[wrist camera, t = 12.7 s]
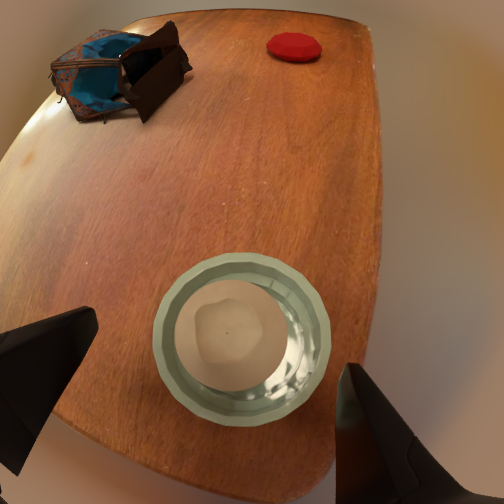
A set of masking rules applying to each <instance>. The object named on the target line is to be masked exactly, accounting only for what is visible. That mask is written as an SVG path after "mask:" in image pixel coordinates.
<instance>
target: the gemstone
mask: <svg viewBox="0 0 504 504" xmlns="http://www.w3.org/2000/svg"><path fill="white" fill-rule="evenodd" d="M266 46H267V49H268V50H269V51H270V52H271V53H272V54H273V55H274V56H276V57H278V58H281V59H283V60H286V61H296V62H305V61H308V60H310V59H313V58H315V57H317V56H318V55H319V54H320V53H321V51H322V47H321V45H320V44H319V43H318V42H317V41H316V40H315V39H314V38H313V37H310V36H308V35H305V34H302V33H286V32H285V33H282V34H279V35H276V36H274V37H273V38H272V39H271V40H270V41H269V42H268V43H267V44H266Z"/></svg>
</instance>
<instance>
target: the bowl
mask: <svg viewBox="0 0 504 504" xmlns="http://www.w3.org/2000/svg"><path fill="white" fill-rule="evenodd" d="M223 280H241V281H245V282H249V283H252V284H254V285H256V286H258V287H260V288H262V289H263V290H265V291H266V292H267V293H269V294H270V295H271V296H272V297H273V298H274V299H275V301H276V302H277V303H278V305H279V306H280V308H281V310H282V312H283V314H284V316H285V319H286V323H287V328H288V344H287V348H286V352H285V355H284V357H283V360H282V361H281V363H280V365H279V366H278V368H277V369H276V371H275V372H274V373H273V374H272V375H271V376H270V377H269V378H267V379H266V380H265V381H264V382H262V383H260V384H258V385H257V386H254V387H252V388H249V389H246V390H241V391H222V390H217V389H213V388H211V387H208V386H206V385H204V384H202V383H201V382H199V381H198V380H196V379H195V378H194V377H193V376H192V375H191V374H190V373H189V372H188V371H187V370H186V369H185V367H184V366H183V364H182V362H181V361H180V359H179V356H178V354H177V350H176V346H175V338H174V337H175V325H176V321H177V318H178V315H179V313H180V311H181V309H182V307H183V305H184V304H185V303H186V301H187V300H188V299H189V298H190V297H191V296H192V295H193V294H194V293H195V292H197V291H198V290H199V289H201V288H203V287H204V286H206V285H209V284H211V283H214V282H217V281H223ZM152 348H153V353H154V357H155V360H156V364H157V368H158V371H159V374H160V377H161V378H162V380H163V381H164V383H165V385H166V386H167V388H168V389H169V391H170V392H171V394H172V395H173V397H174V398H175V399H176V400H177V401H179V402H180V403H181V404H182V405H184V406H185V407H186V408H187V409H189V410H190V411H191V412H193V413H194V414H195V415H196V416H199V417H201V418H204V419H206V420H209V421H212V422H215V423H218V424H220V425H223V426H237V427H254V426H259V425H262V424H266V423H269V422H272V421H275V420H279V419H282V418H283V417H285V416H287V415H288V414H289V413H291V412H292V411H294V410H295V409H296V408H298V407H299V406H300V405H302V404H303V403H304V402H306V400H308V399H309V397H310V396H311V394H312V393H313V392H314V390H315V389H316V387H317V386H318V384H319V383H320V382H321V380H322V379H323V376H324V374H325V371H326V367H327V364H328V360H329V357H330V353H331V328H330V319H329V317H328V314H327V312H326V309H325V307H324V304H323V302H322V299H321V297H320V295H319V294H318V292H317V291H316V290H315V289H314V288H313V286H312V285H311V284H310V283H309V282H308V280H307V279H306V278H305V277H304V276H303V275H302V274H301V273H300V272H298V271H296V270H295V269H293V268H292V267H290V266H289V265H287V264H285V263H284V262H282V261H281V260H279V259H276V258H272V257H268V256H265V255H261V254H257V253H252V252H250V253H227V254H222V255H219V256H216V257H213V258H210V259H207V260H204V261H202V262H200V263H198V264H197V265H195V266H194V267H192V268H191V269H190V270H188V271H187V272H185V273H184V274H182V275H181V276H180V277H179V278H178V279H177V280H176V282H175V283H174V284H173V285H172V287H171V288H170V289H169V291H168V292H167V293H166V294H165V296H164V298H163V299H162V302H161V304H160V307H159V310H158V312H157V315H156V318H155V320H154V326H153V346H152Z"/></svg>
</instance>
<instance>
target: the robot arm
mask: <svg viewBox="0 0 504 504" xmlns="http://www.w3.org/2000/svg"><path fill="white" fill-rule="evenodd" d="M98 329H99V325H98V321H97V317H96V313H95V310H94V309H93V308H91V307H88V306H82V307H79V308H76V309H73V310H70V311H67V312H64V313H61V314H58V315H55V316H52V317H49V318H46V319H43V320H40V321H37V322H34V323H31V324H28V325H25V326H22V327H19V328H16V329H13V330H11V331H7V332H4V333H1V334H0V463H2V464H3V465H4V466H5V467H6V468H7V469H9V470H10V471H11V472H12V473H13V474H15V475H16V476H18V475H19V473H20V471H21V469H22V467H23V465H24V463H25V461H26V459H27V457H28V455H29V453H30V451H31V449H32V447H33V445H34V443H35V441H36V439H37V437H38V435H39V433H40V431H41V430H42V428H43V426H44V424H45V422H46V421H47V419H48V417H49V415H50V413H51V412H52V410H53V408H54V406H55V405H56V403H57V401H58V400H59V398H60V396H61V395H62V393H63V391H64V390H65V388H66V386H67V385H68V383H69V382H70V380H71V378H72V377H73V375H74V374H75V372H76V370H77V369H78V367H79V366H80V364H81V362H82V361H83V359H84V357H85V355H86V353H87V351H88V349H89V347H90V345H91V343H92V342H93V340H94V338H95V336H96V334H97V332H98ZM335 445H336V504H504V498H497V497H491V496H484V495H479V494H475V493H472V492H470V491H468V490H466V489H465V488H463V487H462V486H461V485H460V484H459V483H458V482H457V481H456V480H455V479H454V478H453V477H452V476H451V475H450V474H449V473H448V472H447V471H446V470H445V469H444V468H443V467H442V466H441V465H440V464H439V463H438V462H437V460H435V458H434V457H433V456H432V455H431V454H430V453H429V452H428V450H427V449H426V448H425V447H424V445H423V444H422V443H421V442H420V440H419V439H418V438H417V436H414V433H413V432H412V430H411V429H410V428H409V426H408V425H407V424H406V422H405V421H404V420H403V418H402V417H401V416H400V415H399V413H398V412H397V411H396V410H395V408H394V407H393V406H392V404H391V403H390V402H389V401H388V399H387V398H386V397H385V396H384V394H383V393H382V392H381V390H380V389H379V388H378V387H377V385H376V384H375V383H374V382H373V380H372V379H371V378H370V377H369V375H368V374H367V373H366V372H365V370H364V369H363V368H362V366H361V365H360V364H358V363H347V364H346V365H345V367H344V369H343V371H342V374H341V376H340V378H339V381H338V389H337V405H336V418H335ZM1 492H2V491H1V486H0V494H1ZM0 504H8V503H7V502H6V501H5V500H3V498H2V497H1V496H0Z"/></svg>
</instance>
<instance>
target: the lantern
mask: <svg viewBox="0 0 504 504" xmlns="http://www.w3.org/2000/svg"><path fill="white" fill-rule="evenodd" d="M119 55H121V56H120V57H119ZM188 61H189V60H188V57H187V54H186V53H185V51H184V50H183V48H182V47H181V46H180V44H179V37H178V30H177V28H176V26H175V23H174V22H172V21H171V20H167V22H166V24H165V25H164V26H163V27H162V28H161V29H159V30H158V31H156V32H155V33H153V34H152V35H150V36H144V35H140V34H135V33H128V32H122V31H114V30H105V29H102V30H99V31H98V32H96V33H94V34H93V35H92V36H90V37H89V38H87V39H85V40H83V41H82V42H80V43H79V44H78V45H76V46H75V47H73V48H72V49H70V50H69V51H68V52H66V53H65V54H63V55H62V56H61V57H59V58H57V59H56V60H55V61H53V62H52V63H51V71H52V73H53V75H52V79H51V80H52V83H53V85H54V86H55V87H56V93H57V94H58V95H60V96H62V97H64V98H65V99H66V101H67V103H68V104H69V106H70V108H71V110H72V112H73V114H74V116H75V117H76V120H77V121H78V122H80V121H84V120H87V119H91V118H94V117H96V116H101V119H102V120H103V123H104V124H105V115H107V114H109V113H113V112H116V111H121V110H125V109H131V108H135V109H136V110H137V111H138V113H139V115H140V118H141V121H142V123H145V122H146V121H147V120H148V119H149V117H150V116H151V115H152V114H153V112H154V111H155V110H156V109H157V108H158V107H159V106H160V105H161V104H162V103H163V101H164V100H166V99H167V98H168V96H169V95H171V93H172V92H173V91H175V90H176V89H177V88H178V87H179V86H180V85H181V84H182V83H183V82H184V74H185V73H187V72H188V71H190V70H192V69H193V68H192V67H191V66H190V65H189V63H188ZM52 73H51V74H52ZM50 76H51V75H50ZM50 76H49V77H50ZM118 93H120V94H121V95H124V97H125V100H126V101H127V102H128V103H130V104H125V103H120V102H119V103H118V102H114V101H111V100H110V98H112V97H113V96H114V95H116V94H118ZM62 97H61V100H60V102H57V103H61V101H62Z"/></svg>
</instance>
